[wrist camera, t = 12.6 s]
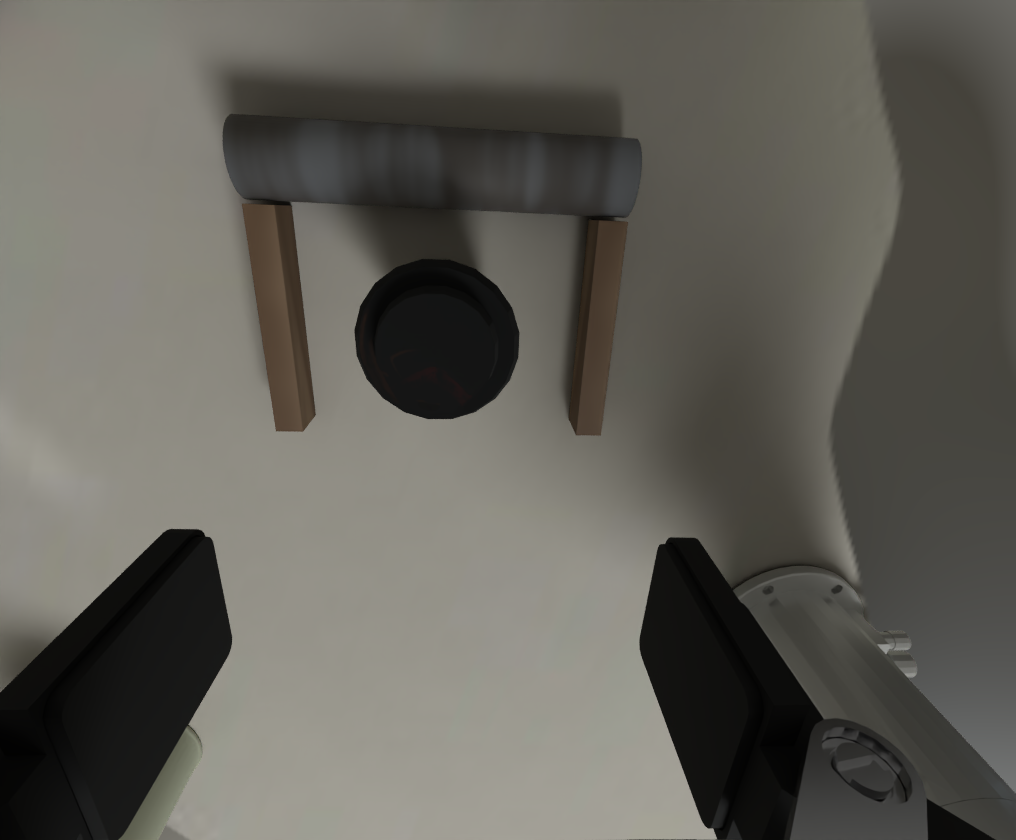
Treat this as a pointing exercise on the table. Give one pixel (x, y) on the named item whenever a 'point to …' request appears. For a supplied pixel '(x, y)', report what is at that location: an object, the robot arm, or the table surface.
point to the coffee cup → (437, 339)
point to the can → (166, 789)
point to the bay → (426, 184)
